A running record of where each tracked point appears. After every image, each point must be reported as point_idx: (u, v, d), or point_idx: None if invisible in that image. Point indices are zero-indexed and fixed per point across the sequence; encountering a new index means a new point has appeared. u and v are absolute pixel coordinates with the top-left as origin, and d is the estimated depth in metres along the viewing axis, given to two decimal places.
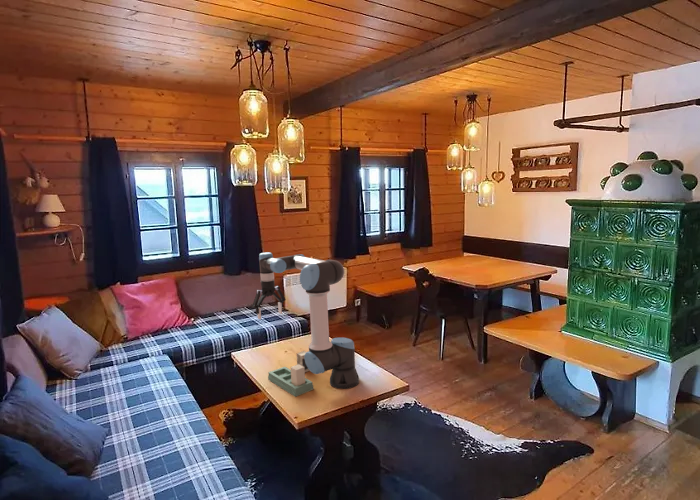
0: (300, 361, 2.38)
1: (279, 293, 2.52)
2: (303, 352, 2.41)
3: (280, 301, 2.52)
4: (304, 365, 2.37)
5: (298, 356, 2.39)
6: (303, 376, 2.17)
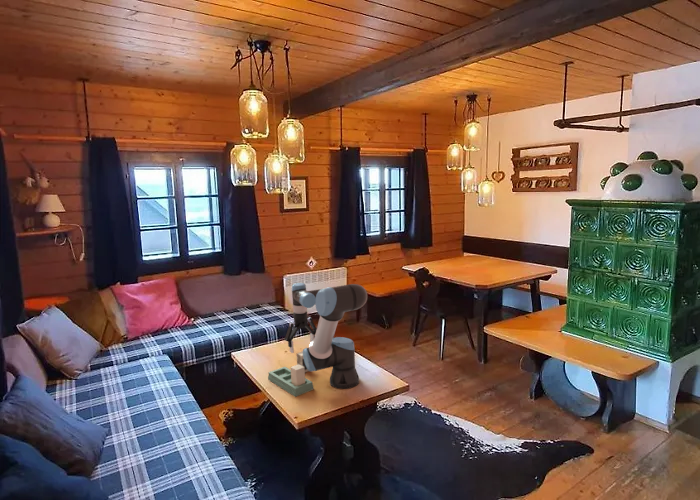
0: (300, 361, 2.38)
1: (311, 325, 2.41)
2: None
3: (312, 333, 2.42)
4: (304, 365, 2.37)
5: (298, 356, 2.39)
6: (303, 376, 2.17)
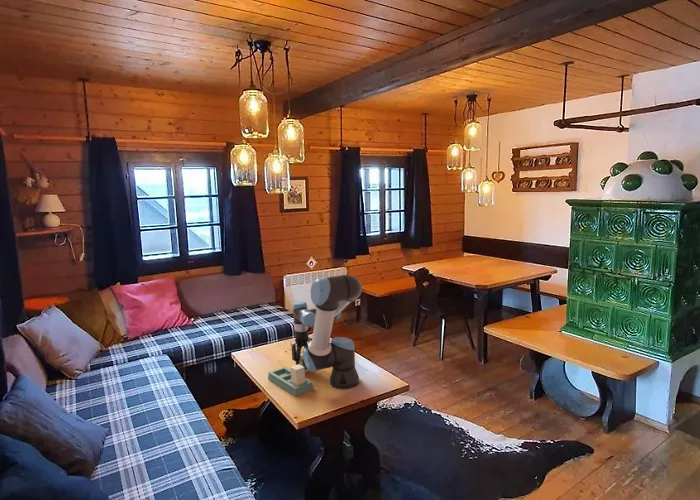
0: None
1: None
2: None
3: None
4: (304, 365, 2.37)
5: None
6: (303, 376, 2.17)
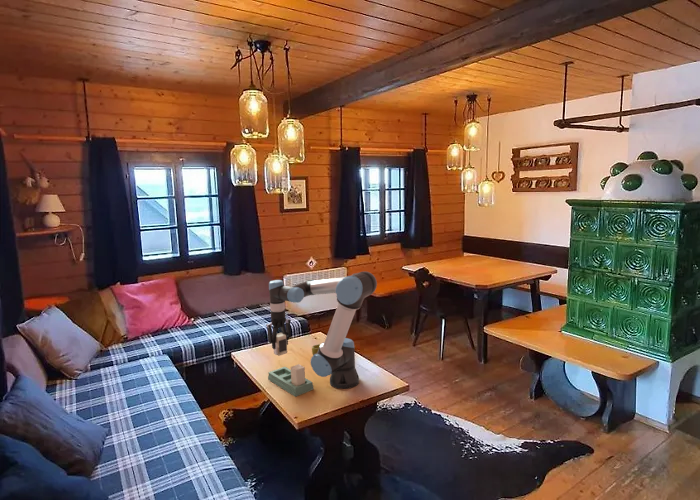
0: None
1: (287, 327, 2.30)
2: (280, 334, 2.29)
3: None
4: (280, 347, 2.26)
5: None
6: (303, 376, 2.17)
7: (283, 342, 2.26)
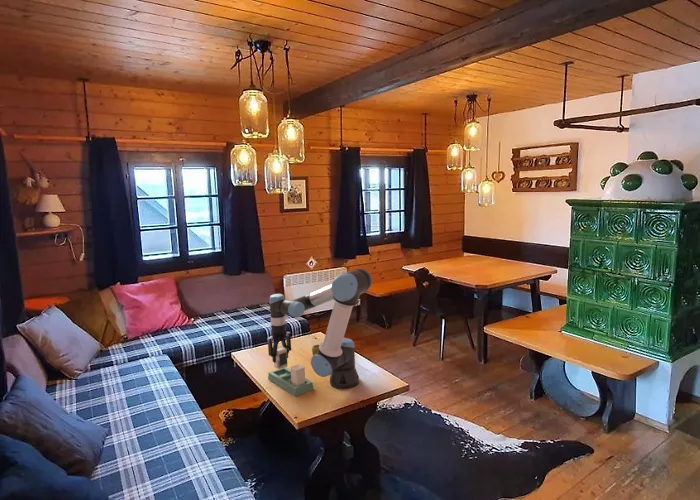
0: (277, 356, 2.27)
1: (288, 340, 2.31)
2: (280, 347, 2.30)
3: None
4: (281, 361, 2.26)
5: None
6: (303, 376, 2.17)
7: (283, 355, 2.27)
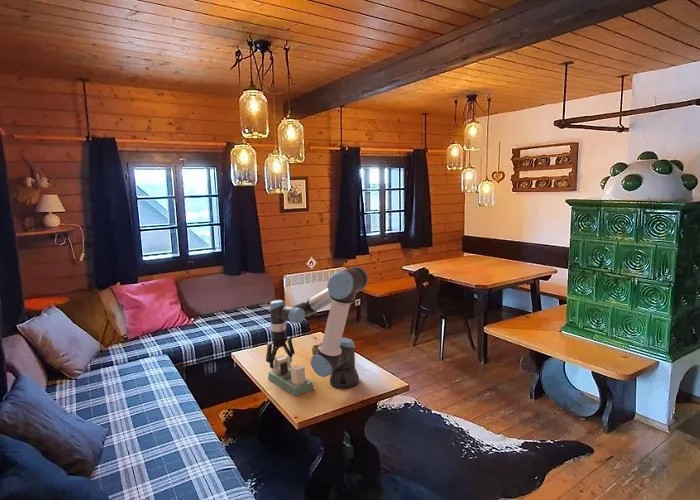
0: (278, 366, 2.28)
1: (289, 345, 2.32)
2: (281, 357, 2.31)
3: (289, 355, 2.32)
4: (282, 370, 2.27)
5: (276, 361, 2.29)
6: (303, 376, 2.17)
7: (284, 365, 2.28)
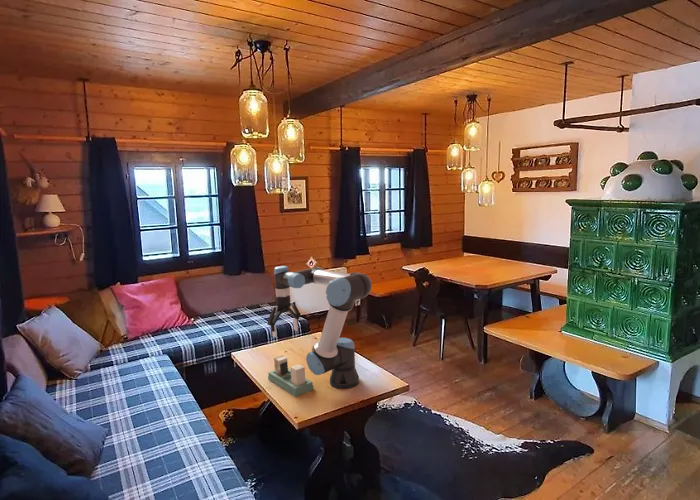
0: (278, 366, 2.28)
1: (294, 309, 2.37)
2: (281, 357, 2.31)
3: (296, 317, 2.37)
4: (282, 370, 2.27)
5: (276, 361, 2.29)
6: (303, 376, 2.17)
7: (284, 365, 2.28)
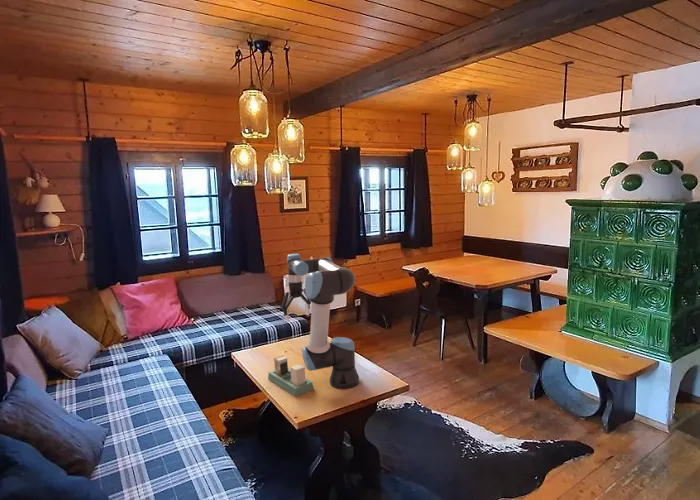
0: (278, 366, 2.28)
1: None
2: (281, 357, 2.31)
3: (307, 303, 2.51)
4: (282, 370, 2.27)
5: (276, 361, 2.29)
6: (303, 376, 2.17)
7: (284, 365, 2.28)
